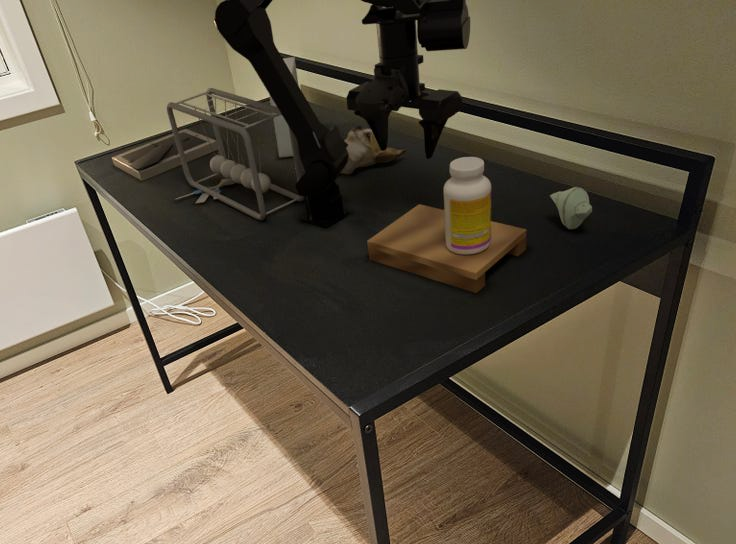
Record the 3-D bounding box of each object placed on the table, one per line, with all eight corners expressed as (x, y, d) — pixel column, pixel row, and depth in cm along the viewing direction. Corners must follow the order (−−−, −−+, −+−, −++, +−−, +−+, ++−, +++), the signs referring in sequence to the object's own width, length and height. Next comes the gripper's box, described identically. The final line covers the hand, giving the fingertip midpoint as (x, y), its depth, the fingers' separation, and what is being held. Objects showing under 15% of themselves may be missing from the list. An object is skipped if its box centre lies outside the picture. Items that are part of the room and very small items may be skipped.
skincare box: (303, 155, 146) (290, 81, 136) (279, 159, 147) (264, 86, 137) (306, 123, 163) (294, 55, 153) (284, 126, 163) (271, 58, 153)
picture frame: (142, 181, 149) (219, 149, 158) (138, 169, 148) (216, 137, 156) (114, 165, 160) (188, 136, 168) (110, 154, 158) (184, 125, 167)
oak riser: (369, 259, 107) (366, 240, 105) (420, 222, 114) (419, 203, 112) (476, 293, 95) (476, 272, 93) (525, 249, 102) (526, 229, 100)
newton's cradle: (186, 184, 142) (163, 101, 131) (227, 167, 147) (207, 85, 136) (264, 224, 123) (244, 130, 111) (308, 203, 127) (293, 110, 116)
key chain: (231, 177, 143) (231, 173, 142) (251, 187, 137) (250, 183, 136) (174, 201, 137) (173, 197, 137) (192, 212, 132) (191, 208, 131)
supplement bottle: (498, 249, 96) (500, 165, 89) (456, 260, 96) (454, 177, 88) (479, 230, 102) (478, 149, 94) (438, 241, 101) (435, 160, 93)
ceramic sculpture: (315, 128, 133) (377, 110, 138) (319, 170, 138) (379, 151, 143) (342, 141, 125) (407, 122, 130) (346, 185, 130) (408, 164, 135)
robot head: (544, 223, 107) (546, 184, 103) (564, 215, 108) (567, 176, 104) (579, 241, 101) (583, 201, 97) (600, 233, 102) (605, 192, 98)
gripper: (316, 65, 100) (331, 164, 109) (417, 74, 88) (423, 183, 98) (363, 44, 105) (373, 139, 115) (463, 49, 94) (465, 155, 104)
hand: (406, 153), depth 108 cm, fingers open, 9 cm apart
